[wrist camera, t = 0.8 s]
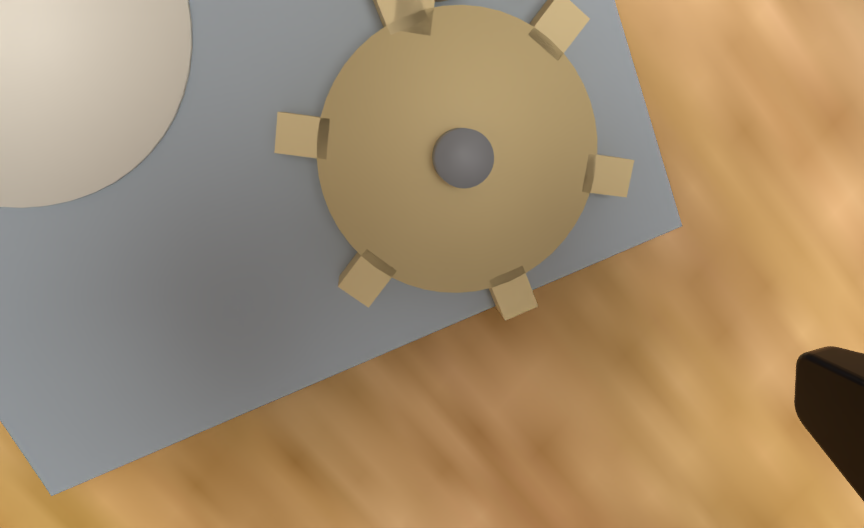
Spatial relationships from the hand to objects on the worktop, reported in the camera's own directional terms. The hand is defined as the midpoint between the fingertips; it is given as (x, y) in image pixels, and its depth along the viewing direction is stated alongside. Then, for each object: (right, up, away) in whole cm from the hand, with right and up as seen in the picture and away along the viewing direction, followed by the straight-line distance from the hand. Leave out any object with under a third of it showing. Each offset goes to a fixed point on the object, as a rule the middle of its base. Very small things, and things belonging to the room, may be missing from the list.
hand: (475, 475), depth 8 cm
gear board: (-6, +8, +11) cm, 15 cm away
